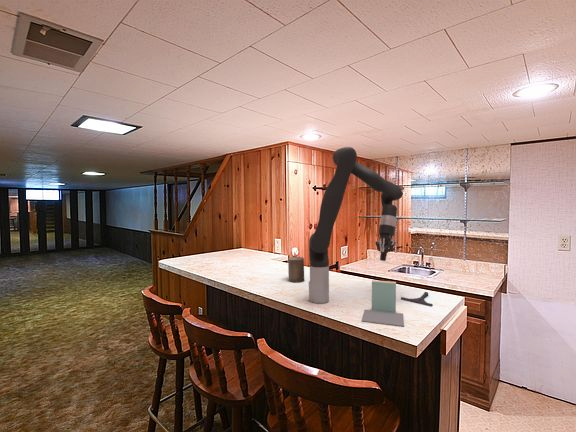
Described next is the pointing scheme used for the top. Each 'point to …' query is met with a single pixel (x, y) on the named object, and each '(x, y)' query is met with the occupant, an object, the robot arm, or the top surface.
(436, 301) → the top surface
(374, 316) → the mat
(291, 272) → the pillar candle
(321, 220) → the robot arm
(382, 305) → the tile
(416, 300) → the bracket
